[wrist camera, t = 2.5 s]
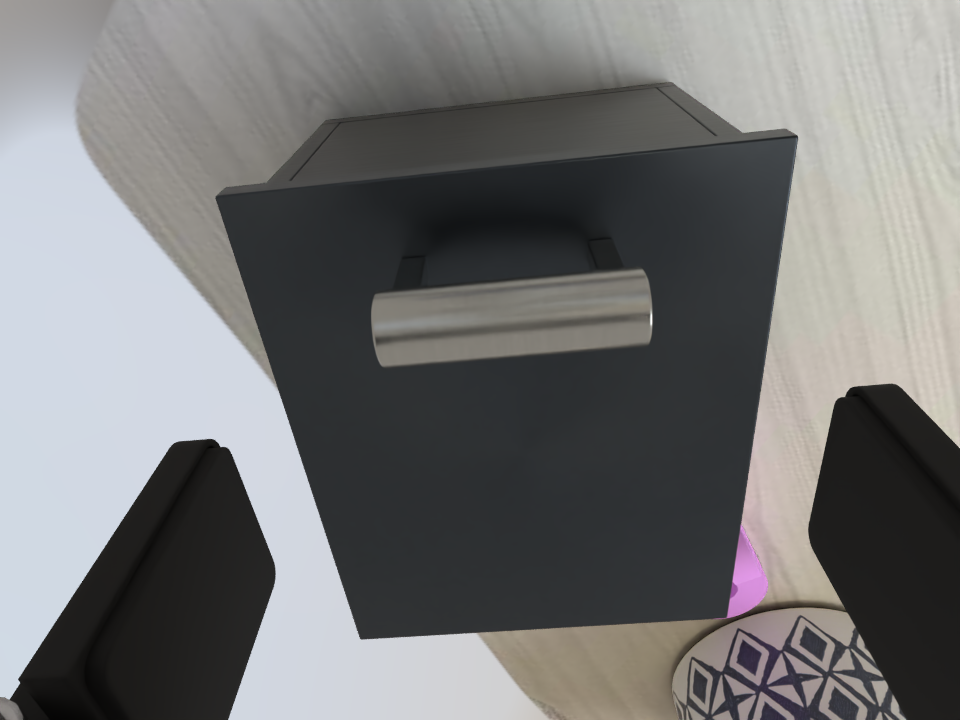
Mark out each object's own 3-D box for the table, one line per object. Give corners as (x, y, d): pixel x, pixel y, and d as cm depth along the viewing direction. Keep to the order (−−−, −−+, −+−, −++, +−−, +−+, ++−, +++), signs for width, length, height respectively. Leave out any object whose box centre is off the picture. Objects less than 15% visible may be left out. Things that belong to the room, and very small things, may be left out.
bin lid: (224, 186, 17) (139, 262, 13) (786, 127, 16) (891, 189, 12) (363, 623, 27) (340, 747, 23) (721, 601, 26) (766, 727, 22)
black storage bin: (324, 120, 28) (234, 215, 18) (671, 81, 27) (781, 159, 17) (396, 441, 37) (363, 621, 27) (656, 420, 36) (721, 600, 26)
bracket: (615, 487, 39) (638, 583, 33) (706, 451, 37) (747, 545, 31) (690, 610, 45) (720, 710, 39) (770, 584, 43) (815, 684, 37)
